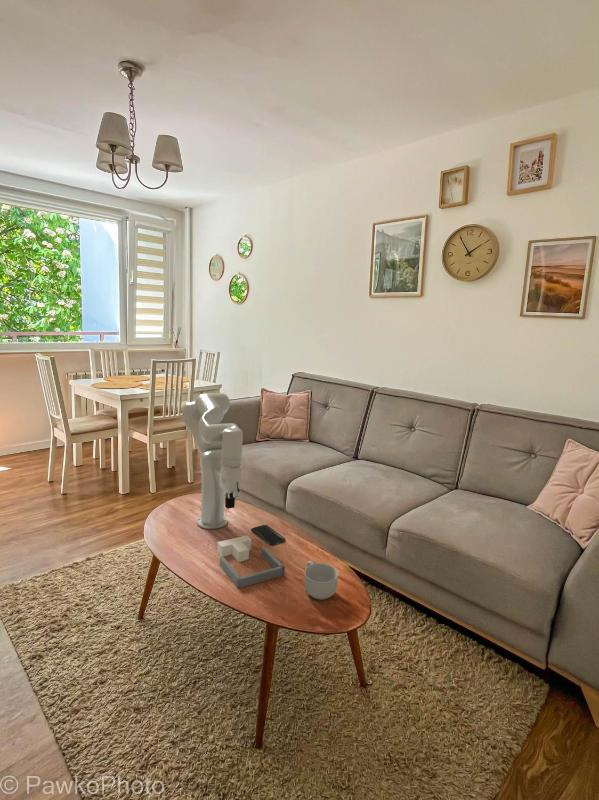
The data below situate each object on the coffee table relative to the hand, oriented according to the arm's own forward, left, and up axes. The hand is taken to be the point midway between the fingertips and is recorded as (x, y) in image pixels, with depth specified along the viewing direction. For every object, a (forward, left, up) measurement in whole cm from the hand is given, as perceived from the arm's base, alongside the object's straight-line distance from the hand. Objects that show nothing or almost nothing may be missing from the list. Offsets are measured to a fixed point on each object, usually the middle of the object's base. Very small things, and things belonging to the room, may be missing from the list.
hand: (229, 507), depth 168 cm
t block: (+9, 0, -15) cm, 17 cm away
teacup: (+41, +14, -15) cm, 46 cm away
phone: (+1, +17, -16) cm, 23 cm away
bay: (+20, 0, -15) cm, 25 cm away
